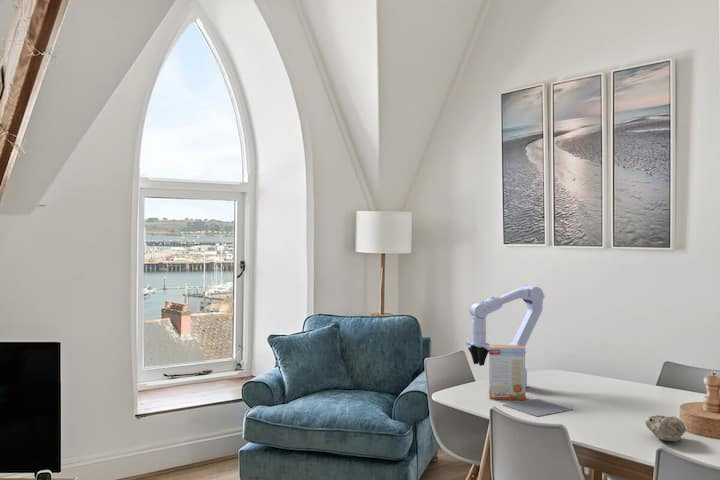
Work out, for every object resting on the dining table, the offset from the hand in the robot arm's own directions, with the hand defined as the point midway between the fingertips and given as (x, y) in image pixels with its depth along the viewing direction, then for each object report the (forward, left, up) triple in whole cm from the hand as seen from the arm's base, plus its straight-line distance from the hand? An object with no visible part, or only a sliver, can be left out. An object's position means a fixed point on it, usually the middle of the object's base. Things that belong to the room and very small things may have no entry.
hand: (478, 364), depth 281 cm
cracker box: (0, +17, -11) cm, 20 cm away
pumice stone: (-6, +83, -11) cm, 84 cm away
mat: (0, +34, -10) cm, 35 cm away
